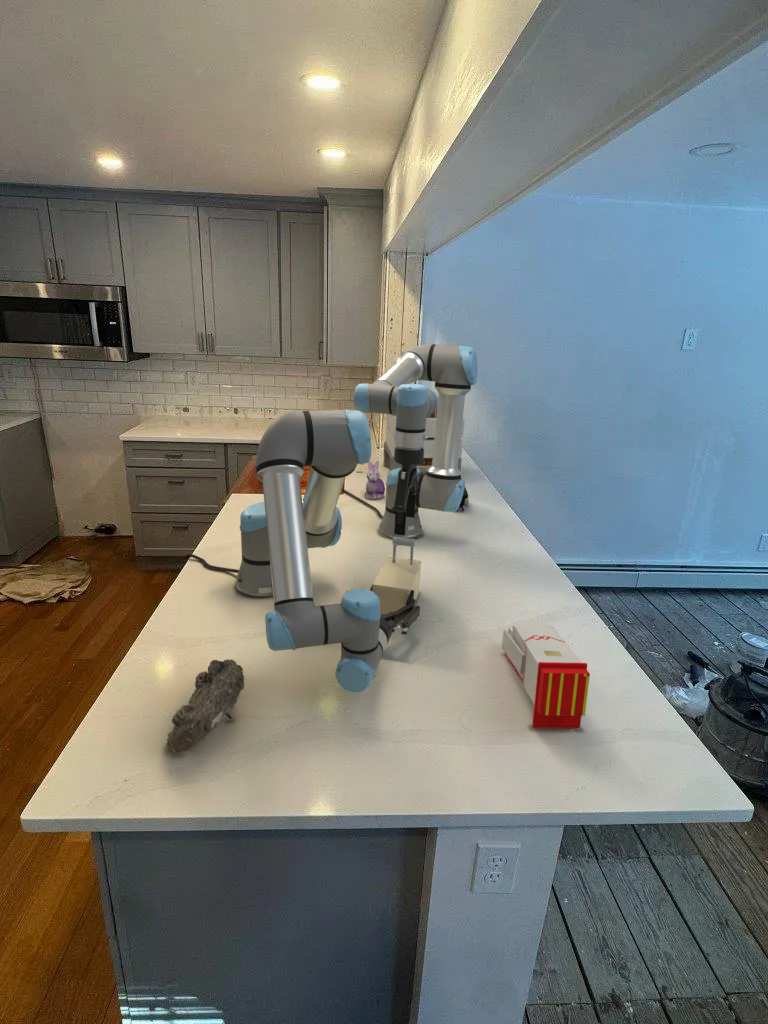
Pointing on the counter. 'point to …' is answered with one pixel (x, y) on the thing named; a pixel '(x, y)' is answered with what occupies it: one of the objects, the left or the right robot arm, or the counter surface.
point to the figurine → (374, 483)
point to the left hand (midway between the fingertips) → (393, 592)
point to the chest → (396, 596)
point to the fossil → (206, 705)
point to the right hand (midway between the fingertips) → (404, 525)
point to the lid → (398, 569)
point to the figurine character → (464, 500)
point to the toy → (548, 674)
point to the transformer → (428, 447)
